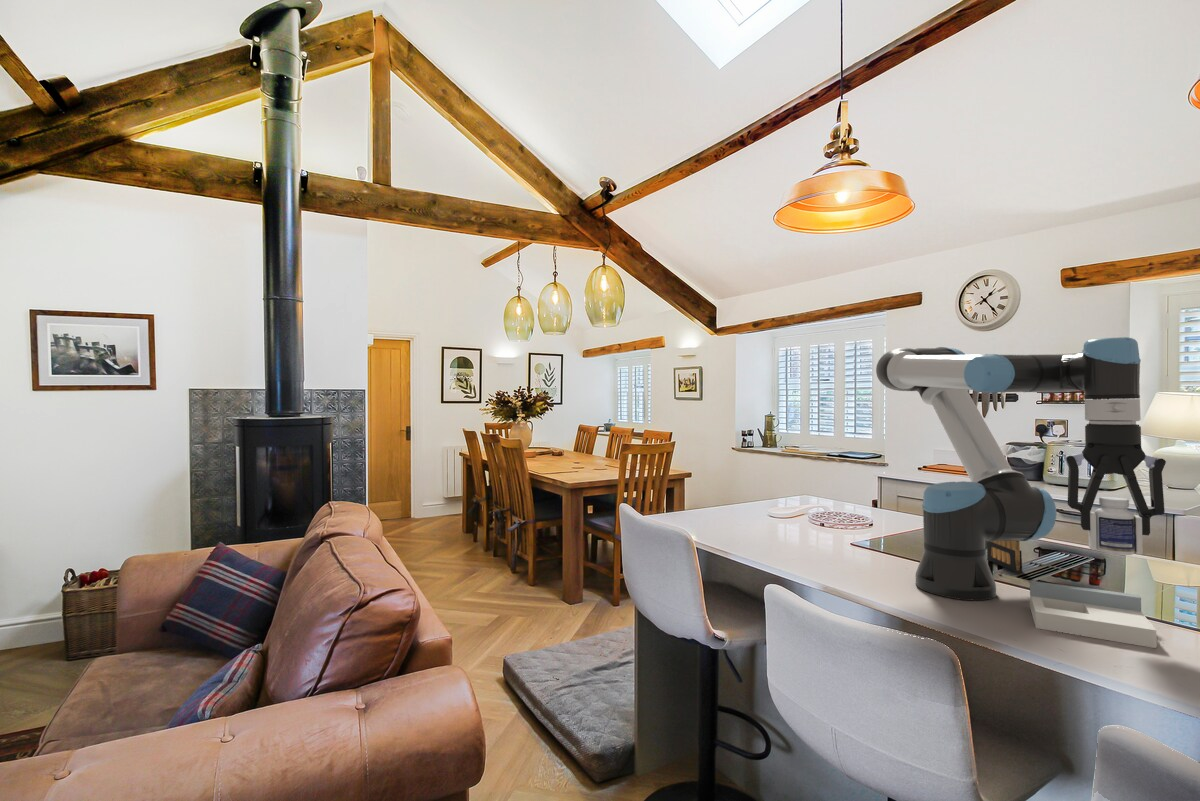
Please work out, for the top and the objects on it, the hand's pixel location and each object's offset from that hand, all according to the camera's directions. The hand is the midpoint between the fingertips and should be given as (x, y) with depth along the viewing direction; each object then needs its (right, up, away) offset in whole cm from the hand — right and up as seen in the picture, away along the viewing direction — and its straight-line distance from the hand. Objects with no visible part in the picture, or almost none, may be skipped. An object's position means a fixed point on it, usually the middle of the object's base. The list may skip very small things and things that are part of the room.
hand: (1114, 550), depth 102 cm
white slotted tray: (-4, -14, +1) cm, 15 cm away
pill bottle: (0, -1, 0) cm, 1 cm away
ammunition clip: (+9, -15, +40) cm, 44 cm away
